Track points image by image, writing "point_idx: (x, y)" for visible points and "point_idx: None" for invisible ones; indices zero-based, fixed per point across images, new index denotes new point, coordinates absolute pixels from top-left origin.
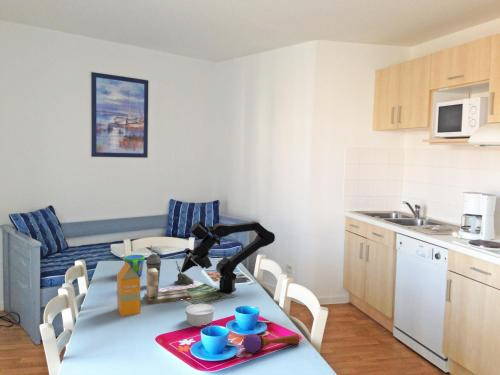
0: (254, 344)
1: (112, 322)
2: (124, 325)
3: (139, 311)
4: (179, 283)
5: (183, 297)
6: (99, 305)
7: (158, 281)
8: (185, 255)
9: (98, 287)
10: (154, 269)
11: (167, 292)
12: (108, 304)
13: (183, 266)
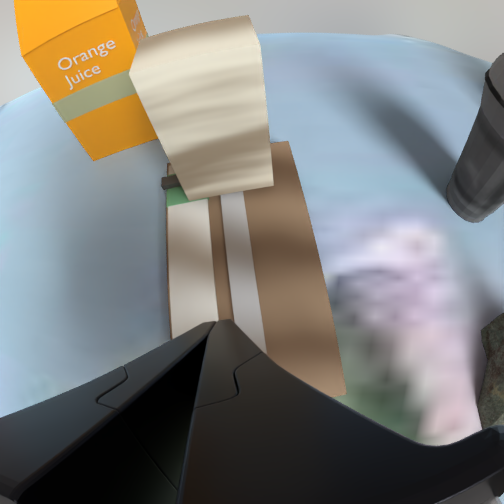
0: None
1: None
2: (41, 141)
3: (90, 154)
4: (491, 343)
5: None
6: None
7: (476, 207)
8: (479, 441)
9: (409, 48)
10: (216, 43)
11: (287, 259)
12: None
13: (169, 348)
